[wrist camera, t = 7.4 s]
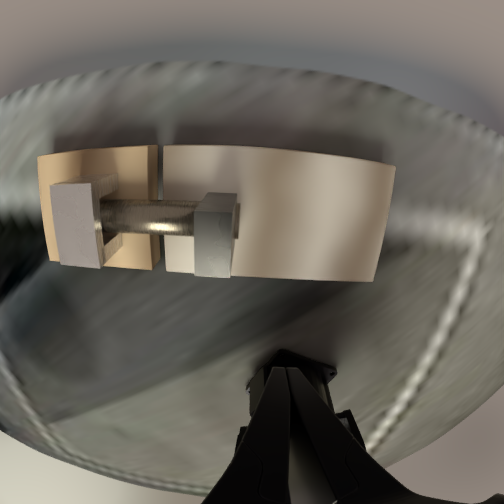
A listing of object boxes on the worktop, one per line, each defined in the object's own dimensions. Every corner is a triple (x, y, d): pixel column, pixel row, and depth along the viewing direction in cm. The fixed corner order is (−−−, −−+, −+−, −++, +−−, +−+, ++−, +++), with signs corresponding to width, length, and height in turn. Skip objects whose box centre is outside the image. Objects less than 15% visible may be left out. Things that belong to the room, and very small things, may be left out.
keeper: (118, 173, 16) (90, 183, 13) (122, 245, 18) (100, 268, 14) (79, 175, 16) (49, 185, 13) (86, 243, 18) (60, 264, 14)
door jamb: (382, 162, 17) (395, 166, 16) (363, 269, 20) (372, 282, 19) (53, 153, 17) (37, 156, 15) (63, 250, 20) (50, 260, 18)
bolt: (241, 191, 16) (237, 213, 12) (238, 240, 17) (234, 278, 13) (86, 188, 16) (42, 208, 11) (91, 232, 17) (51, 262, 13)
